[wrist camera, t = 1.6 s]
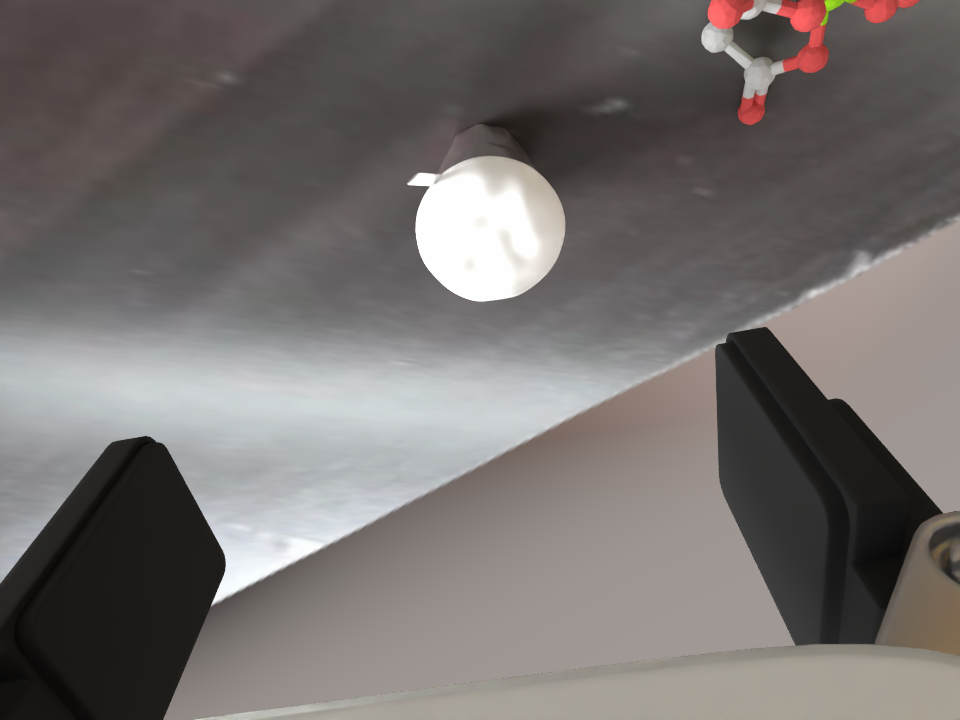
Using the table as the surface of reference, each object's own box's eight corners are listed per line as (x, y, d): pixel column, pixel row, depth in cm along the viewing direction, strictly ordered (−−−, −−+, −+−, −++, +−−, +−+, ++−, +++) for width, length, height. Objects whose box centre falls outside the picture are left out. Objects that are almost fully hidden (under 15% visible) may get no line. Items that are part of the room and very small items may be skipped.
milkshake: (472, 63, 25) (474, 115, 17) (562, 165, 27) (606, 258, 19) (391, 147, 27) (355, 234, 18) (482, 238, 29) (488, 355, 20)
